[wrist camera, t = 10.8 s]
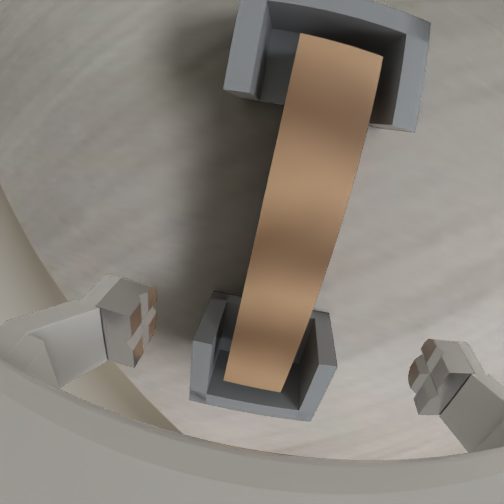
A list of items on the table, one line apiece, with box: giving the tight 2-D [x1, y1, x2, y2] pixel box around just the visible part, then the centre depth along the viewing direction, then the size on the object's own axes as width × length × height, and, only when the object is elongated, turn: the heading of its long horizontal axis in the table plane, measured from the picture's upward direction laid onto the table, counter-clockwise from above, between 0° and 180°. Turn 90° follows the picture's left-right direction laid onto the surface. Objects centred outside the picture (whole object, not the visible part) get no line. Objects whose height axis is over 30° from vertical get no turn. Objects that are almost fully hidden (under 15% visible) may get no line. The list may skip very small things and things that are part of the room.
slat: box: [223, 33, 383, 392], centre depth 18 cm, size 21×4×4 cm, turn 169°
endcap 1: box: [223, 0, 430, 133], centre depth 14 cm, size 6×9×6 cm, turn 81°
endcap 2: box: [189, 291, 337, 422], centre depth 22 cm, size 6×9×6 cm, turn 81°
